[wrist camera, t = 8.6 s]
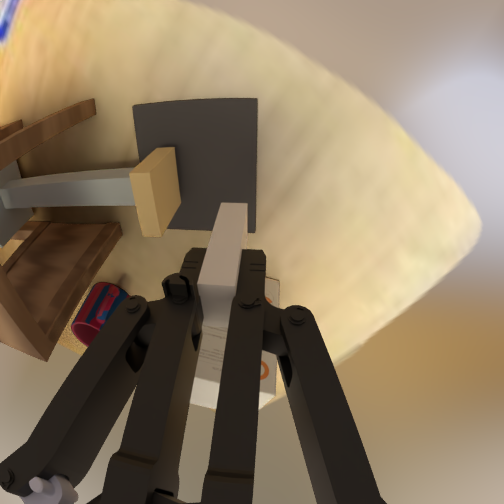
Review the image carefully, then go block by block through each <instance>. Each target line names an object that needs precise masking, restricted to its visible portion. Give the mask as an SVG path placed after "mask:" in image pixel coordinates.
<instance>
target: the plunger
mask: <svg viewBox="0 0 504 504" xmlns="http://www.w3.org/2000/svg"><path fill="white" fill-rule="evenodd" d="M180 204H181V198H180V190H179V182H178V174H177V166H176V156H175V147H164V148H156V149H155V150H154V151H153V152H152V153H151V154H149V155H148V156H147V157H146V158H145V159H144V160H143V161H142V162H141V163H140V164H138V165H137V166H136V167H134V168H117V169H103V170H90V171H80V172H70V173H61V174H52V175H44V176H37V177H30V178H23V179H22V178H21V175H20V171H19V168H18V164H17V161H16V160H15V161H14V162H12V163H11V164H9V165H8V166H6V167H5V168H4V169H2V170H1V171H0V247H1V248H3V246H4V245H5V244H6V243H7V242H8V241H9V240H10V239H11V238H12V237H13V236H14V234H15V233H16V232H17V231H18V230H19V229H20V228H21V227H22V226H23V225H24V224H25V223H26V222H27V221H28V220H29V219H30V218H31V217H32V216H33V215H34V213H33V211H32V208H31V207H58V206H136V210H137V214H138V218H139V223H140V227H141V231H142V235H143V236H145V237H162V235H163V234H164V232H165V230H166V228H167V226H168V225H169V223H170V221H171V219H172V218H173V216H174V214H175V212H176V211H177V209H178V207H179V206H180Z"/></svg>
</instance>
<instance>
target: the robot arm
mask: <svg viewBox="0 0 504 504" xmlns="http://www.w3.org/2000/svg"><path fill="white" fill-rule="evenodd" d="M247 242H248V233H247V203H221V205H220V208H219V211H218V214H217V218H216V221H215V224H214V227H213V231H212V234H211V237H210V241H209V244H208V247H207V248H192V249H191V250H190V251H189V252H188V253H187V254H186V256H185V259H184V262H183V264H182V268H181V270H180V272H179V273H174V274H172V275H169V276H167V277H166V278H165V279H164V280H163V281H162V286H163V290H164V294H165V298H163V299H160V300H156V301H150V302H147V301H146V299H145V298H143V297H142V296H137V295H134V296H130V297H128V298H126V299H124V300H123V301H122V302H121V303H120V305H119V306H118V307H117V309H116V310H115V311H114V312H113V314H112V315H111V316H110V318H109V319H108V320H107V322H106V323H105V324H104V326H103V327H102V328H101V330H100V331H99V333H98V334H97V335H96V337H95V338H94V339H93V341H92V342H91V344H90V345H89V346H88V348H87V349H86V351H85V352H84V353H83V355H82V356H81V358H80V359H79V361H78V362H77V363H76V365H75V366H74V368H73V370H72V371H71V372H70V374H69V375H68V377H67V378H66V380H65V381H64V383H63V384H62V386H61V387H60V389H59V390H58V392H57V393H56V395H55V396H54V398H53V400H52V401H51V403H50V404H49V406H48V407H47V409H46V411H45V412H44V414H43V416H42V417H41V419H40V420H39V422H38V424H37V425H36V427H35V429H34V431H33V432H32V434H31V436H30V437H29V439H28V441H27V442H26V443H25V444H23V445H22V446H21V447H20V448H19V449H17V450H16V451H15V452H14V453H13V454H11V455H10V456H9V457H7V458H6V459H5V460H4V461H2V462H1V463H0V485H1V487H2V488H3V489H4V490H5V491H7V492H9V493H12V494H15V495H18V496H20V497H21V499H22V500H23V502H24V504H74V502H76V501H77V500H78V494H77V492H76V491H75V490H74V488H75V487H76V486H77V485H78V484H79V483H80V482H81V481H82V479H83V478H84V477H85V476H86V474H87V472H88V471H89V469H90V468H91V466H92V463H93V462H94V460H95V458H96V456H97V455H98V453H99V451H100V449H101V447H102V445H103V444H104V442H105V440H106V438H107V436H108V435H109V433H110V431H111V429H112V427H113V426H114V424H115V422H116V420H117V419H118V417H119V415H120V413H121V411H122V410H123V408H124V406H125V404H126V403H127V401H128V399H129V397H130V396H131V394H132V392H133V390H134V389H135V387H136V390H135V393H134V397H133V400H132V404H131V408H130V412H129V415H128V419H127V423H126V426H125V430H124V434H123V438H122V442H121V446H120V449H119V450H118V451H117V452H116V453H114V454H113V455H112V457H111V458H110V461H109V464H108V468H107V472H106V477H105V482H104V487H103V492H102V493H101V494H100V495H98V496H97V497H95V498H94V499H93V500H91V501H90V502H88V503H87V504H252V498H253V485H254V468H255V455H256V441H257V426H258V410H259V394H260V377H261V359H262V350H263V351H266V352H269V353H272V354H275V355H276V357H277V360H278V364H279V368H280V371H281V375H282V379H283V382H284V386H285V390H286V393H287V397H288V400H289V404H290V408H291V411H292V415H293V419H294V422H295V426H296V429H297V433H298V436H299V440H300V444H301V448H302V451H303V455H304V458H305V462H306V466H307V469H308V473H309V476H310V480H311V483H312V487H313V491H314V494H315V498H316V502H317V504H387V503H386V502H385V501H384V500H383V499H382V498H381V497H380V493H379V491H378V487H377V484H376V481H375V478H374V475H373V472H372V470H371V467H370V464H369V461H368V458H367V455H366V452H365V449H364V447H363V444H362V441H361V438H360V435H359V433H358V430H357V427H356V424H355V422H354V419H353V416H352V413H351V411H350V408H349V405H348V403H347V400H346V397H345V395H344V392H343V390H342V387H341V384H340V382H339V379H338V377H337V374H336V371H335V369H334V366H333V363H332V361H331V358H330V356H329V353H328V351H327V348H326V346H325V343H324V341H323V338H322V336H321V333H320V331H319V328H318V326H317V323H316V321H315V318H314V316H313V314H312V313H311V311H310V310H309V309H307V308H306V307H303V306H300V305H292V306H289V307H287V308H286V309H280V308H277V307H275V306H273V305H271V304H270V303H269V302H268V301H267V299H266V297H265V275H266V256H265V254H264V252H263V250H252V249H247ZM203 320H204V325H205V326H213V327H226V328H228V331H227V338H226V344H225V351H224V358H223V365H222V372H221V379H220V386H219V393H218V400H217V407H216V415H215V422H214V429H213V436H212V444H211V451H210V459H209V466H208V470H207V472H206V474H205V478H204V483H203V489H202V498H201V502H200V503H186V502H183V501H181V500H179V499H177V496H178V490H179V475H178V468H179V462H180V456H181V450H182V444H183V438H184V432H185V426H186V421H187V415H188V409H189V404H190V399H191V393H192V388H193V383H194V377H195V372H196V367H197V362H198V357H199V352H200V347H201V342H202V337H203V332H202V324H203ZM136 385H137V386H136Z"/></svg>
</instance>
